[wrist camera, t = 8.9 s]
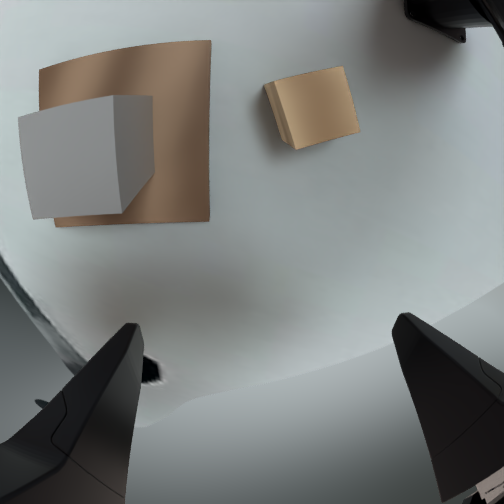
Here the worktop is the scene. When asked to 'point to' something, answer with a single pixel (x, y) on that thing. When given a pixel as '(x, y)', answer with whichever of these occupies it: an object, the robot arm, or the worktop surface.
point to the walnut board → (164, 122)
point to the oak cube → (313, 107)
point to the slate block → (87, 155)
